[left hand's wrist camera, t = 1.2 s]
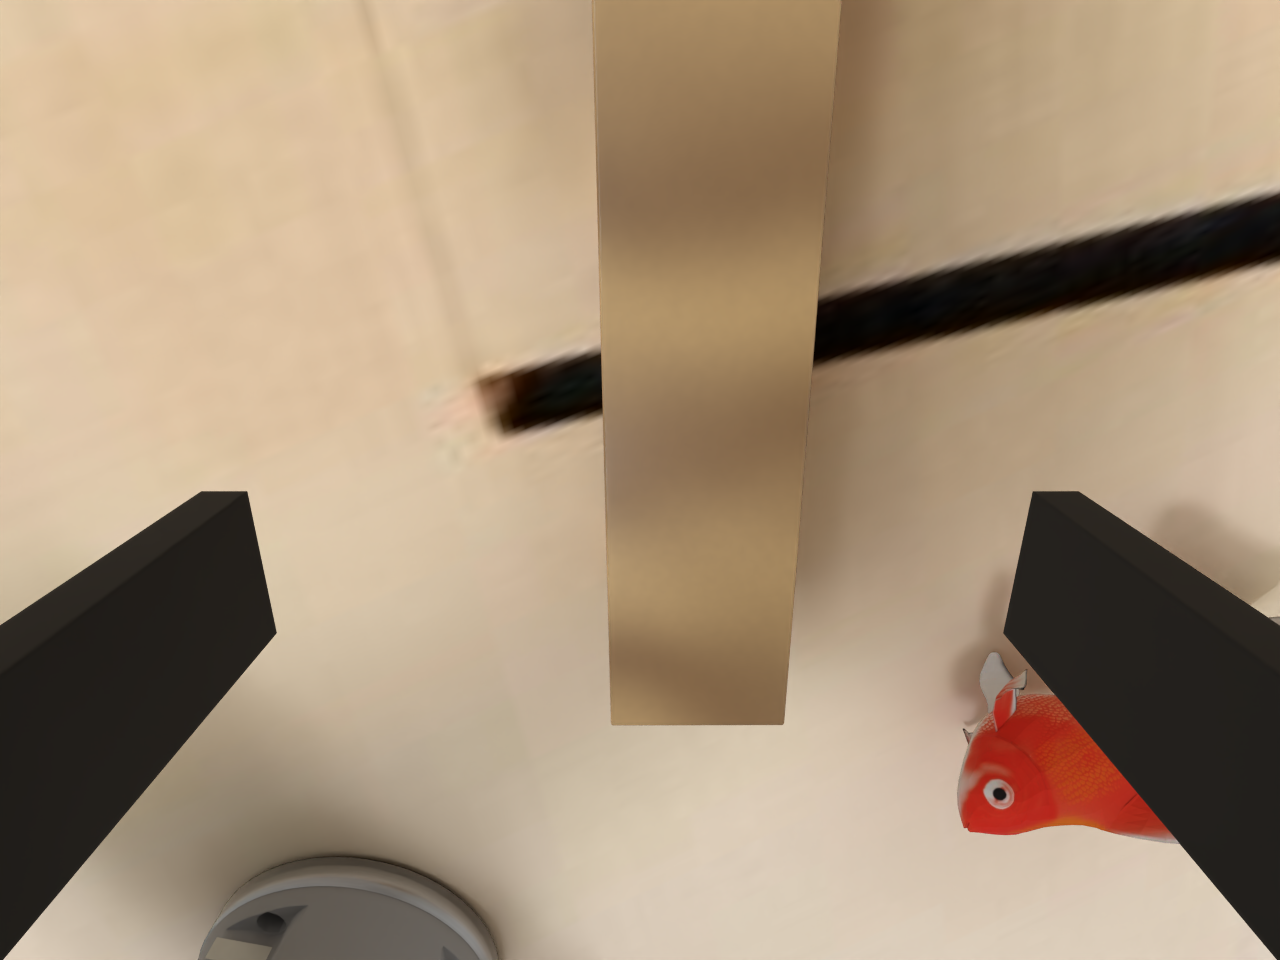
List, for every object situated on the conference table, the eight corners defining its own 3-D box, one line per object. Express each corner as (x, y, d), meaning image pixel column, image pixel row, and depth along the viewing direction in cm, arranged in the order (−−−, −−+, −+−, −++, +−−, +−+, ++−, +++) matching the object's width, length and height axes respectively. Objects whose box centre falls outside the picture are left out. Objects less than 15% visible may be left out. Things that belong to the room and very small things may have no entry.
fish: (928, 597, 26) (1203, 860, 19) (1206, 474, 31) (1499, 644, 24) (867, 756, 33) (1052, 991, 26) (1103, 633, 38) (1309, 800, 31)
